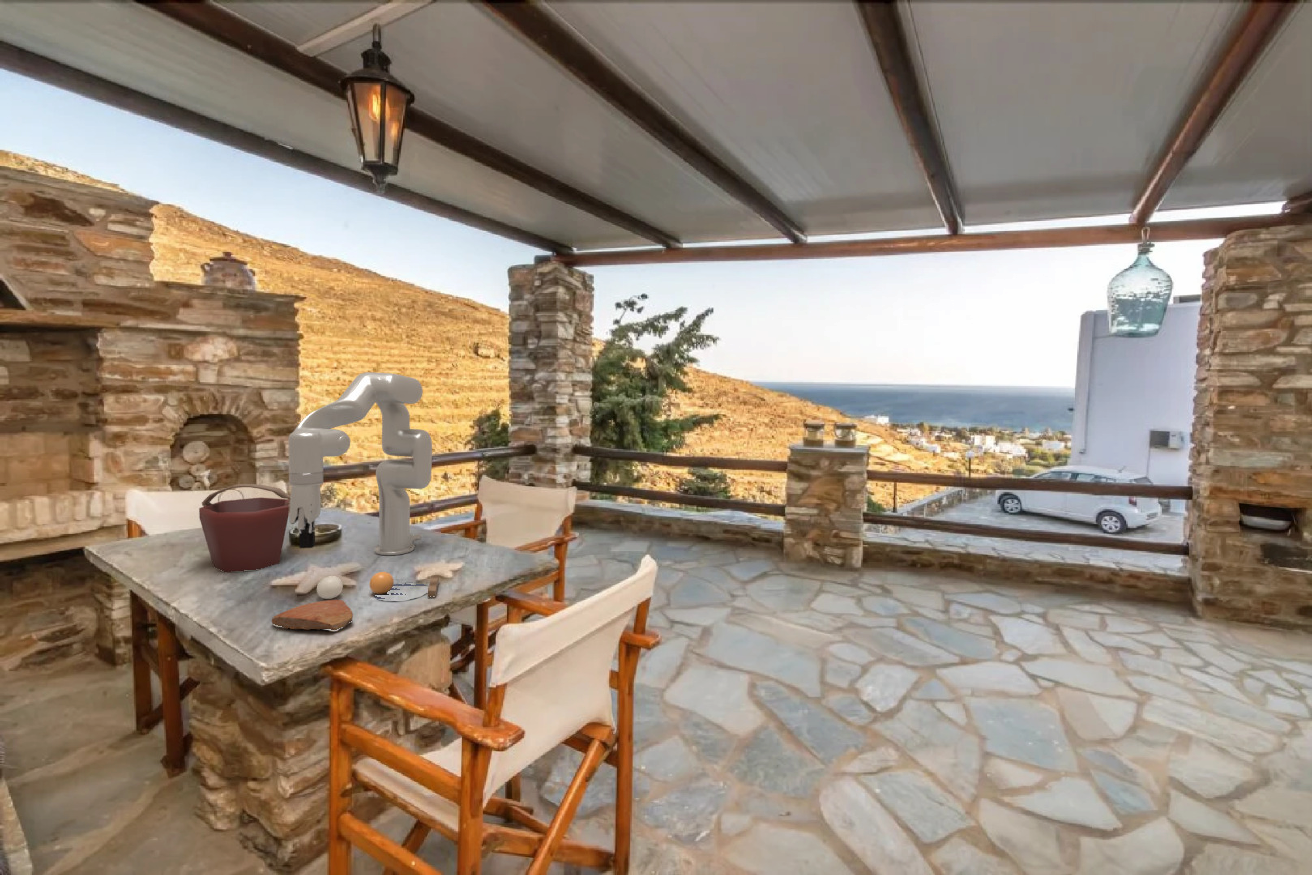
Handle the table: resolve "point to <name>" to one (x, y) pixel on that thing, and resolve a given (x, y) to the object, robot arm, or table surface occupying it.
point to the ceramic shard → (316, 616)
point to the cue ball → (329, 587)
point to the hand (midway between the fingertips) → (307, 546)
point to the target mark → (398, 589)
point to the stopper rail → (433, 586)
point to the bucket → (245, 529)
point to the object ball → (381, 582)
